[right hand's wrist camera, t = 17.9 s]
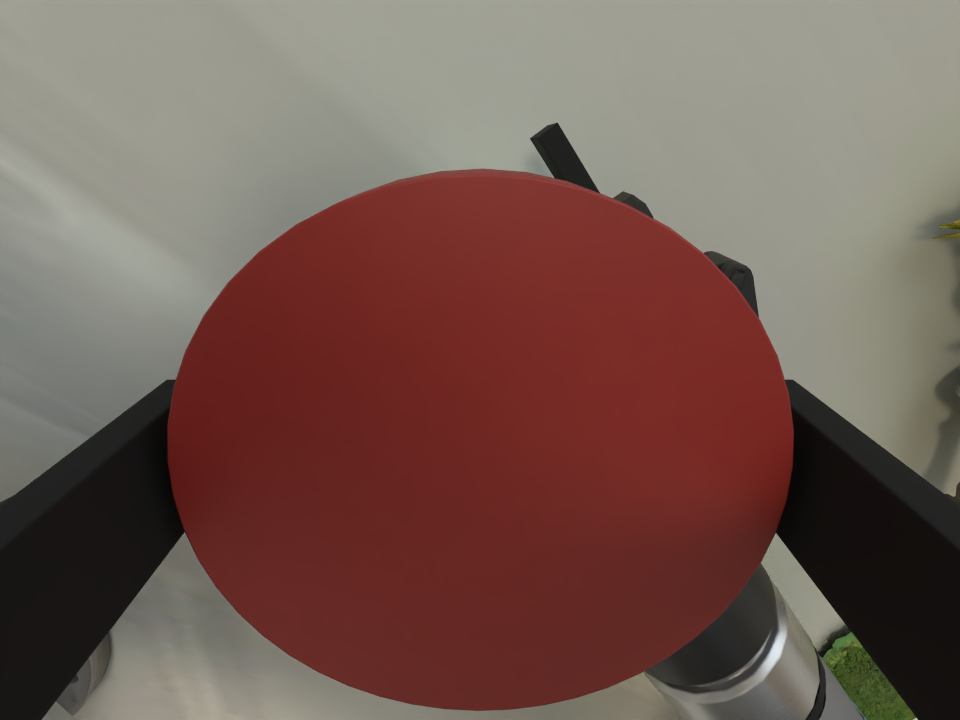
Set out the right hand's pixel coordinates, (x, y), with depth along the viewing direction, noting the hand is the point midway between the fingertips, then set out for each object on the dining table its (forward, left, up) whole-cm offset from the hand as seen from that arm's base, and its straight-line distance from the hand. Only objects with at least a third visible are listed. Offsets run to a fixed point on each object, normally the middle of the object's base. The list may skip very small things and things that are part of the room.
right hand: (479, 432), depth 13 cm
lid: (0, 0, +2) cm, 2 cm away
